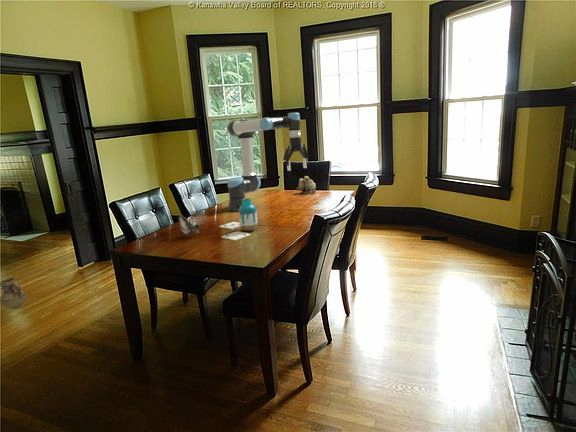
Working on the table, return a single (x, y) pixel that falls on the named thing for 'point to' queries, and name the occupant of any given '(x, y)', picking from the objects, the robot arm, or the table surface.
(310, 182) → the owl figurine
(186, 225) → the decorative duck model
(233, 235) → the two dot mat
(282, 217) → the table surface
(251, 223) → the vase
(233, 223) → the three dot mat
